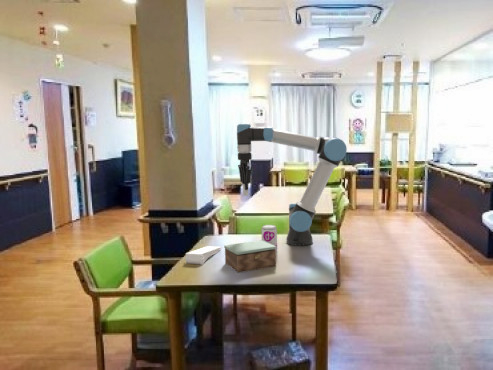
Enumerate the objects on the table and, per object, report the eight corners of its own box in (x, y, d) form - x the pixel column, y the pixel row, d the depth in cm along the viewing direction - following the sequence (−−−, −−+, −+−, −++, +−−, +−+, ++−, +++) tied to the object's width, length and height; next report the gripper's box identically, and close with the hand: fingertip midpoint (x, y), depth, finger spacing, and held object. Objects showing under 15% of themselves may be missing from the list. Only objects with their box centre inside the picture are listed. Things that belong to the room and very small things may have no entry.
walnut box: (261, 257, 226) (260, 242, 225) (276, 266, 211) (276, 250, 210) (225, 263, 218) (224, 247, 217) (238, 273, 203) (238, 256, 202)
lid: (261, 242, 225) (261, 240, 225) (276, 248, 210) (276, 246, 210) (224, 247, 217) (224, 245, 217) (237, 254, 202) (237, 252, 202)
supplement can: (276, 256, 228) (275, 228, 226) (260, 255, 230) (260, 227, 228) (278, 252, 236) (277, 224, 234) (263, 251, 237) (262, 224, 235)
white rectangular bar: (207, 259, 246) (185, 268, 219) (204, 246, 246) (182, 253, 219) (223, 256, 243) (203, 264, 216) (220, 243, 243) (200, 250, 216)
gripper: (233, 152, 241) (234, 194, 244) (243, 153, 229) (244, 197, 232) (245, 151, 244) (246, 193, 247) (256, 152, 232) (257, 196, 235)
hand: (245, 195), depth 240 cm, fingers closed
